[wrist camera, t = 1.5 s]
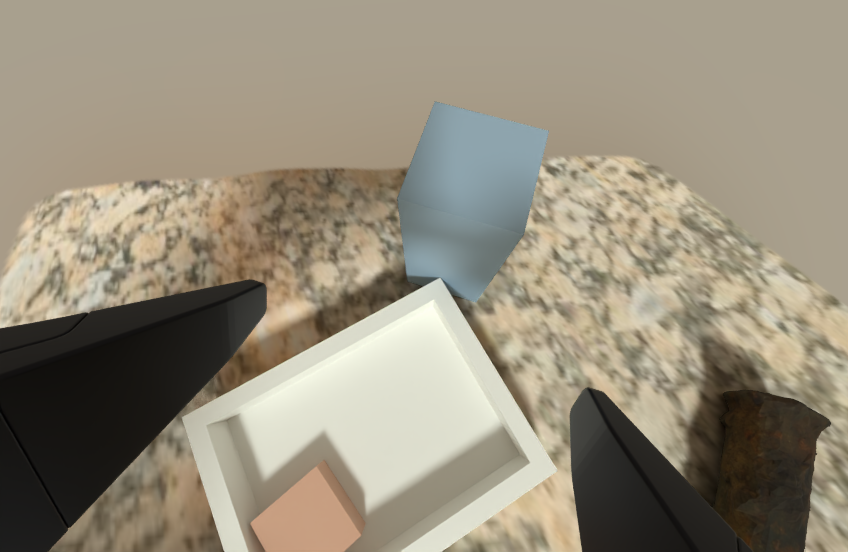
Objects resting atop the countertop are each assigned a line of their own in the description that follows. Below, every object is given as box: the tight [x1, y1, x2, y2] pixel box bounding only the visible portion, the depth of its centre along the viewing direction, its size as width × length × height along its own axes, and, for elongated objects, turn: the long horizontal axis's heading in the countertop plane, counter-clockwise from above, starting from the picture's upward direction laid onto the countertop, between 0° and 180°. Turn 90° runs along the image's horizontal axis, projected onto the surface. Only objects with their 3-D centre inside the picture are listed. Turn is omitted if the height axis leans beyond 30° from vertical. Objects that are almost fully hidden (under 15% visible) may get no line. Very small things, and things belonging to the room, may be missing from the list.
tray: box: [182, 278, 557, 552], centre depth 19 cm, size 16×12×3 cm
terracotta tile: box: [250, 460, 366, 552], centre depth 17 cm, size 4×4×2 cm
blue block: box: [397, 102, 549, 302], centre depth 18 cm, size 5×5×11 cm
